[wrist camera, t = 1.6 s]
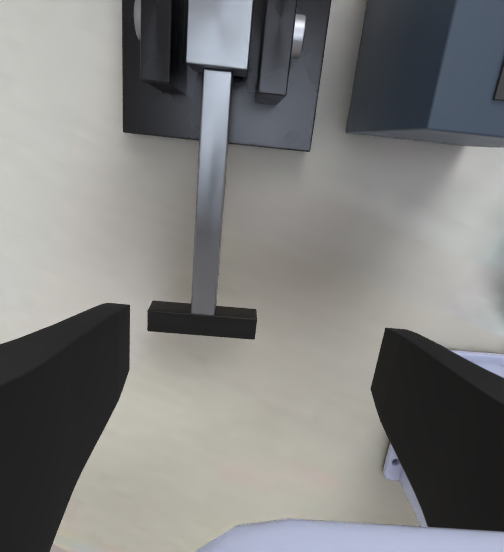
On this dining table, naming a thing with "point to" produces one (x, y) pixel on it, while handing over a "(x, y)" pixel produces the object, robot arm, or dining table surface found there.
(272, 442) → the dining table surface
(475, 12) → the toaster body
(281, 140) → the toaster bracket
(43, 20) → the dining table surface
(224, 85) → the lever
